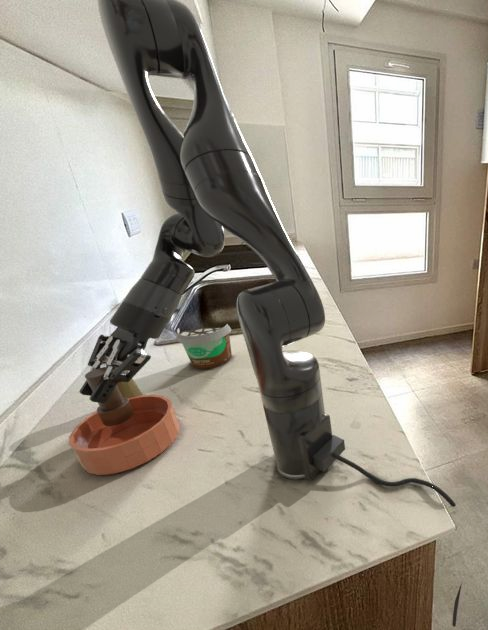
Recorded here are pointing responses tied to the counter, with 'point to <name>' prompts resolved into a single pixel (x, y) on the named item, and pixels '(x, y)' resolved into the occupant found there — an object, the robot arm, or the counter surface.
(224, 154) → the robot arm
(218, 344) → the food container
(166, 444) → the bowl
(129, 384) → the olive knobbed tapered cylinder
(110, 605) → the counter surface
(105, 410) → the pestle
